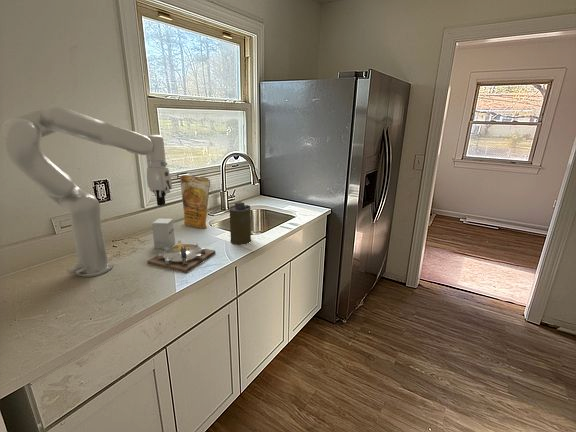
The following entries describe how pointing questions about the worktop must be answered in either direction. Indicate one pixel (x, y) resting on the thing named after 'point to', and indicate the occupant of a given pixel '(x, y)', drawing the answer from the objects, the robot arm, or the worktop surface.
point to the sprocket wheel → (181, 253)
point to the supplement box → (163, 233)
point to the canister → (240, 223)
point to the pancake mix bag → (195, 200)
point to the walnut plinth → (181, 266)
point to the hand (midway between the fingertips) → (161, 204)
